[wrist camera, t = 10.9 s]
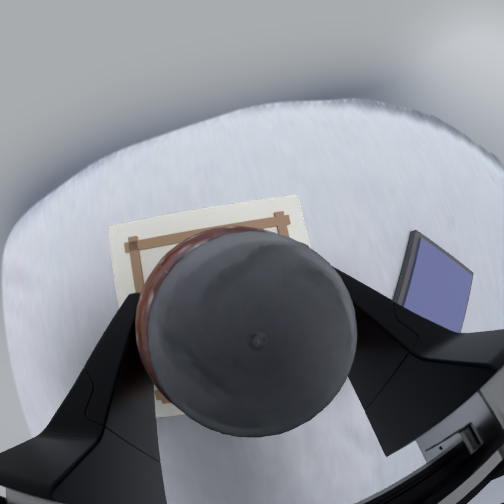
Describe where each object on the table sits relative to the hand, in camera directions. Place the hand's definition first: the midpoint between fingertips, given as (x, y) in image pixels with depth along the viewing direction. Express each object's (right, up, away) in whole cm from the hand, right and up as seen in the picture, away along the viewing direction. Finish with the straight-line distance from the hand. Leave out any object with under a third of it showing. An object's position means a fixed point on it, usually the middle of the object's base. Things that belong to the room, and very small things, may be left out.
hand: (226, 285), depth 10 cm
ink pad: (+16, -3, +10) cm, 20 cm away
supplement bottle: (-1, -3, +6) cm, 7 cm away
